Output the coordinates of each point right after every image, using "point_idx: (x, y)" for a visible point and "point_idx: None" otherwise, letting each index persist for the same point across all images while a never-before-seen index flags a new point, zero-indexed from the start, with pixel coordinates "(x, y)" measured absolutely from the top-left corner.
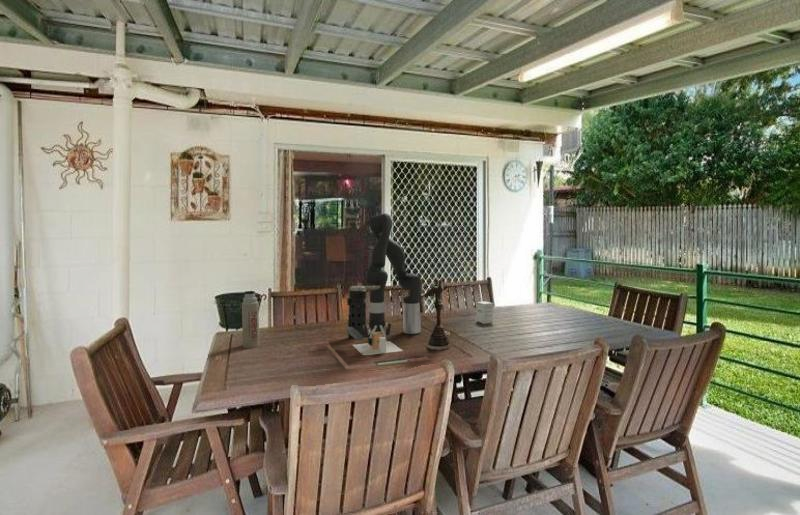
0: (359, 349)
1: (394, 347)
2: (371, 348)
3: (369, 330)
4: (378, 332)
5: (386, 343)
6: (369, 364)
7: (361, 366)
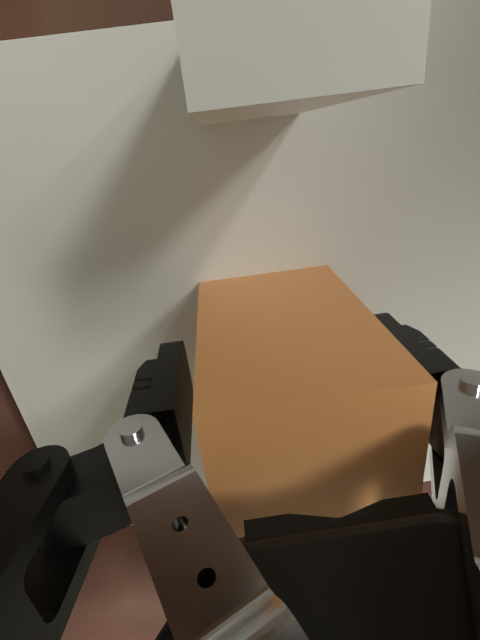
0: (26, 356)
1: (470, 359)
2: (190, 346)
3: (183, 45)
4: (396, 389)
5: (474, 138)
6: (131, 605)
7: (72, 627)
